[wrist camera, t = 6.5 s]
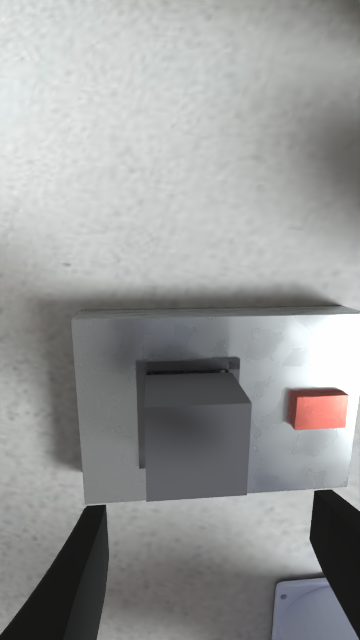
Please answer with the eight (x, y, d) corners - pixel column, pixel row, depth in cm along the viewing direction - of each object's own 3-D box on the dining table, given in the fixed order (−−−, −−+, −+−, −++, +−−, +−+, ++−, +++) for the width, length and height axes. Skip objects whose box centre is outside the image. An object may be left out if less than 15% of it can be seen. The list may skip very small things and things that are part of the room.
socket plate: (325, 460, 23) (352, 493, 20) (92, 474, 21) (82, 512, 18) (343, 306, 20) (376, 316, 17) (81, 310, 19) (67, 322, 16)
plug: (218, 421, 21) (246, 495, 15) (147, 424, 21) (146, 501, 14) (220, 354, 20) (251, 403, 14) (146, 356, 20) (144, 407, 13)
